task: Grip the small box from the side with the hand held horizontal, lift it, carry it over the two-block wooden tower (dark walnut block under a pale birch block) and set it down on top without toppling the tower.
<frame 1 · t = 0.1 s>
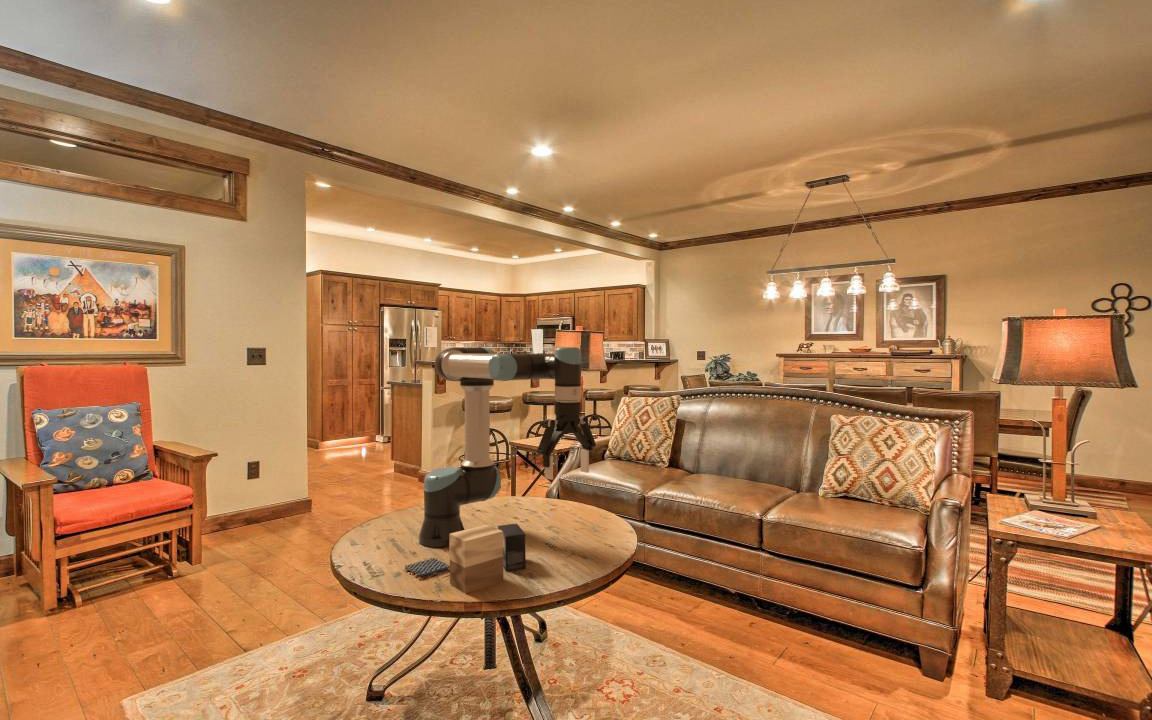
hand: (567, 475, 160), 28 cm above the table, tool pointing down, fingers open, 13 cm apart
tower top: (476, 557, 153), point 7 cm above the table, touching tower base
tower base: (476, 583, 153), on the table, touching tower top
woven mat: (427, 572, 162), on the table
small box: (511, 564, 167), on the table
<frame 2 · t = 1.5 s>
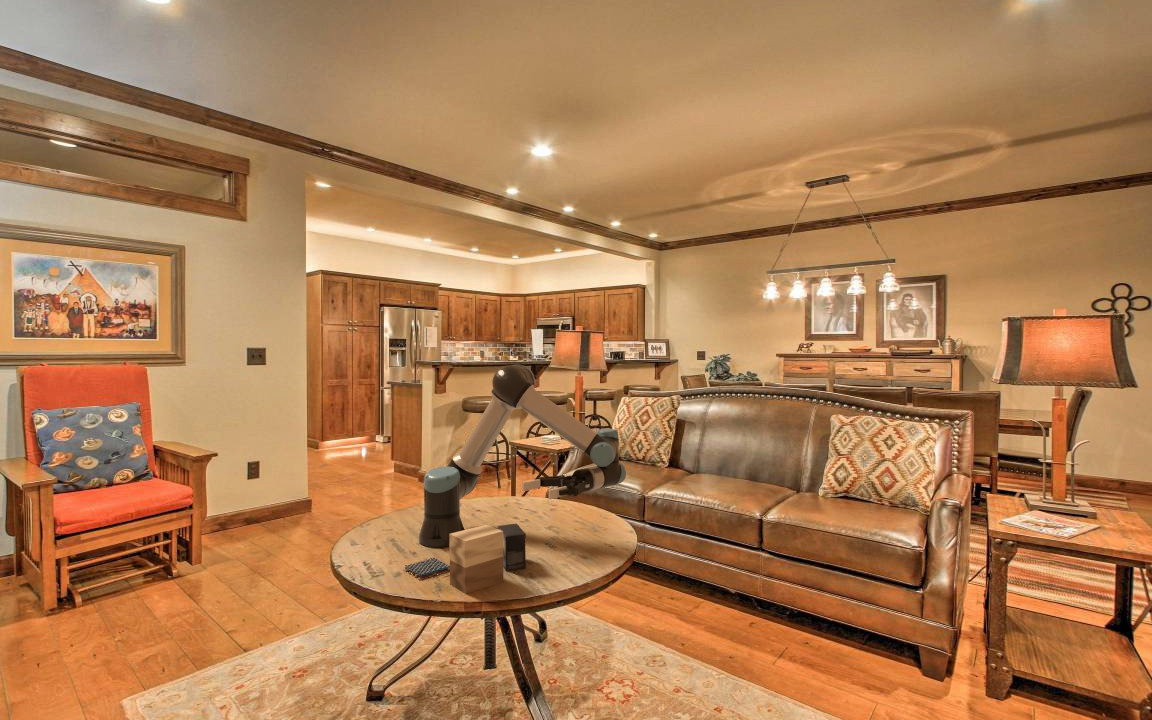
hand: (535, 490, 172), 20 cm above the table, tool horizontal, fingers open, 13 cm apart
nothing on the table moved.
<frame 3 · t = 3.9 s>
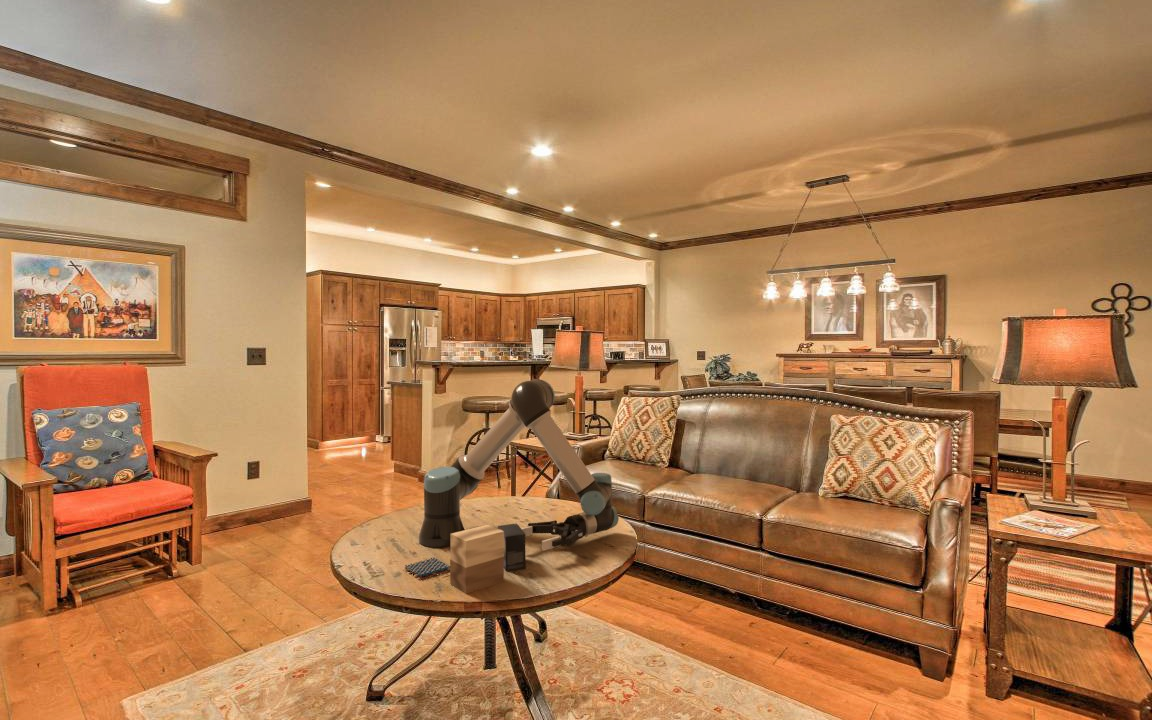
hand: (528, 540, 170), 6 cm above the table, tool horizontal, fingers open, 13 cm apart
nothing on the table moved.
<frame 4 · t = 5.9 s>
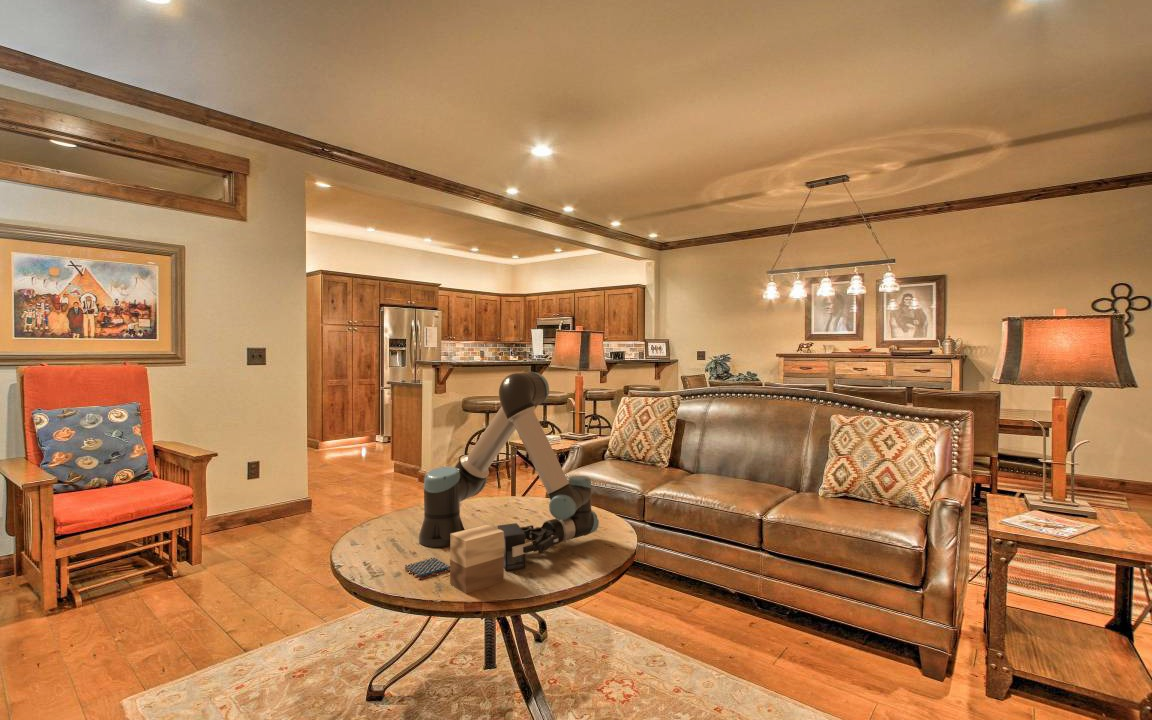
hand: (500, 546, 164), 6 cm above the table, tool horizontal, fingers closed on small box, 11 cm apart
small box: (511, 564, 167), on the table, touching gripper
everything else where it was.
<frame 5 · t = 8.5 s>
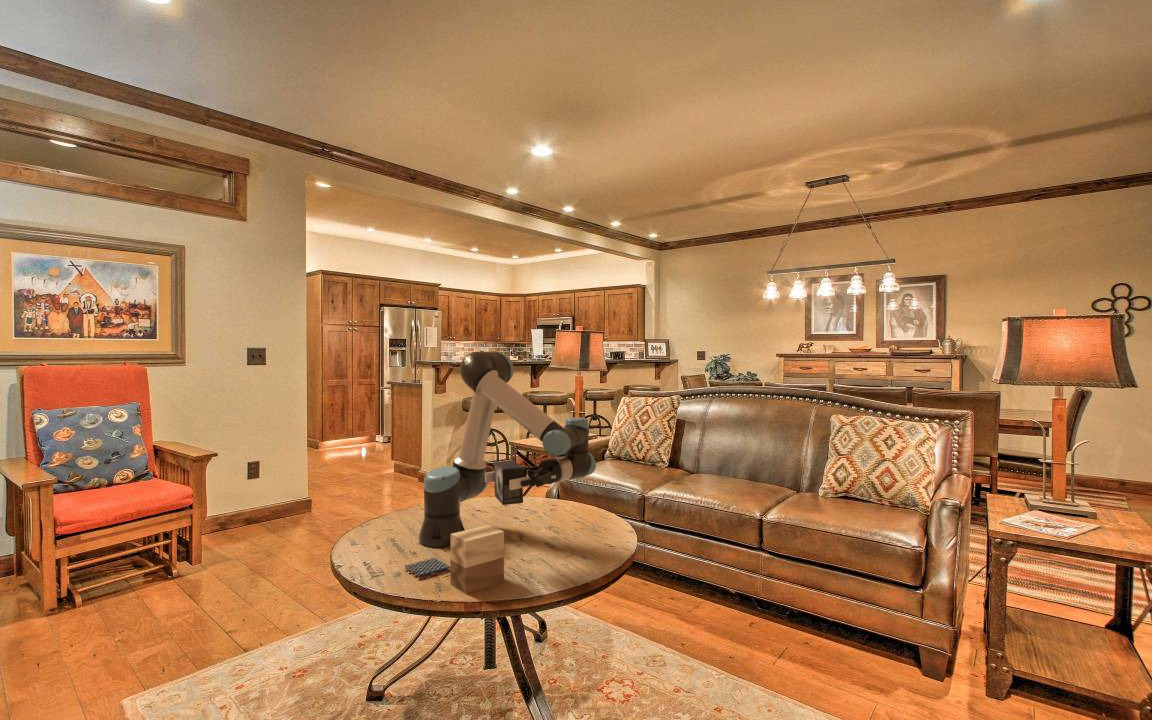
hand: (497, 481, 161), 26 cm above the table, tool horizontal, fingers closed on small box, 11 cm apart
small box: (508, 500, 164), point 20 cm above the table, touching gripper
everything else where it was.
when the fingers open (21 cm above the table, at t = 10.9 s): small box drops 2 cm, resting on tower top.
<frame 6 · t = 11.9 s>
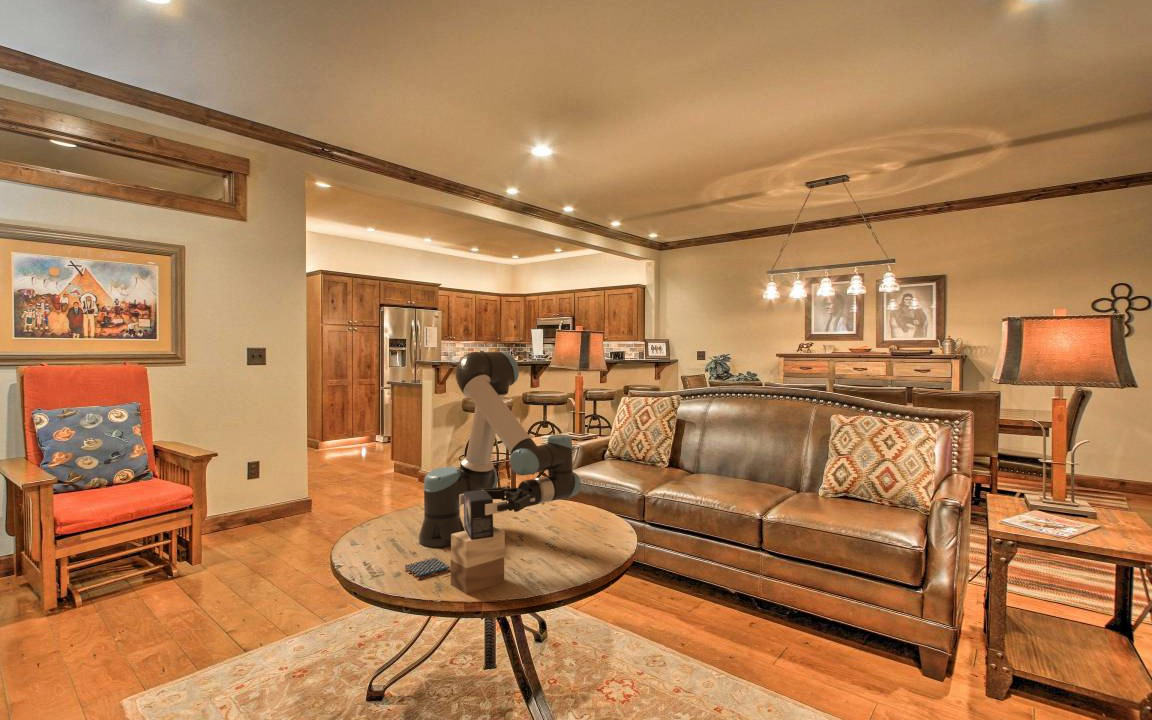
hand: (472, 504, 152), 22 cm above the table, tool horizontal, fingers open, 13 cm apart
tower top: (478, 558, 153), point 7 cm above the table, touching small box, tower base
small box: (478, 533, 153), point 14 cm above the table, touching tower top
everything else where it was.
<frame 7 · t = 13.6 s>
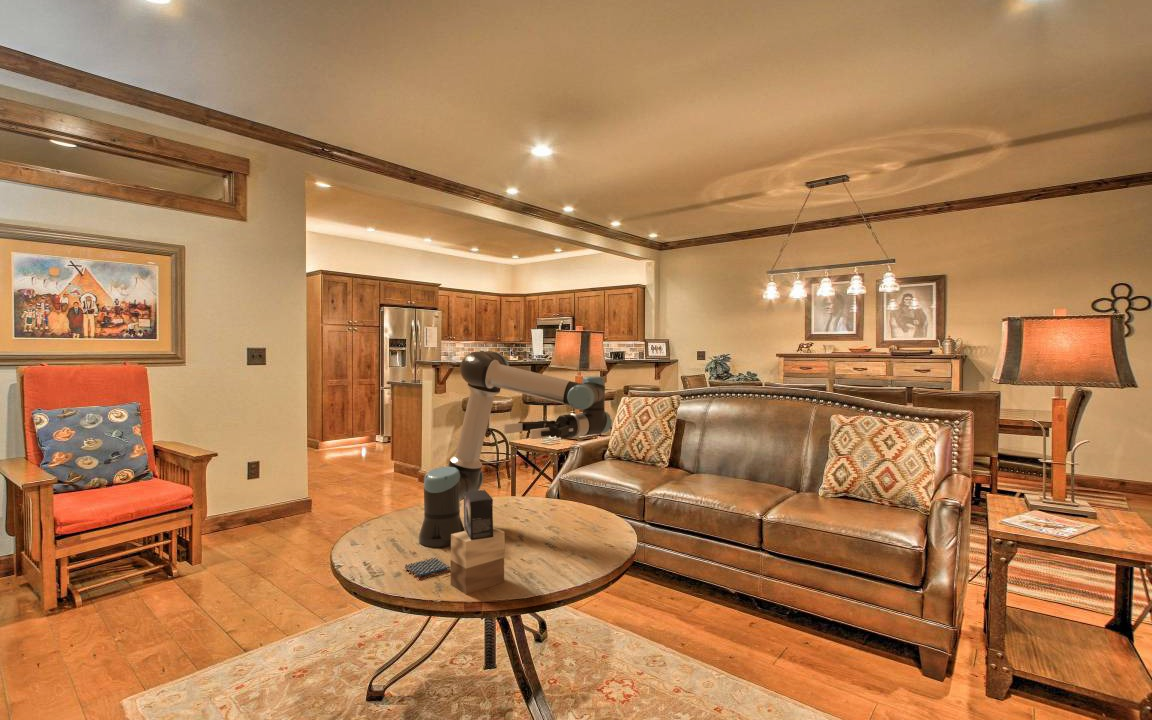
hand: (517, 431, 166), 39 cm above the table, tool horizontal, fingers open, 13 cm apart
nothing on the table moved.
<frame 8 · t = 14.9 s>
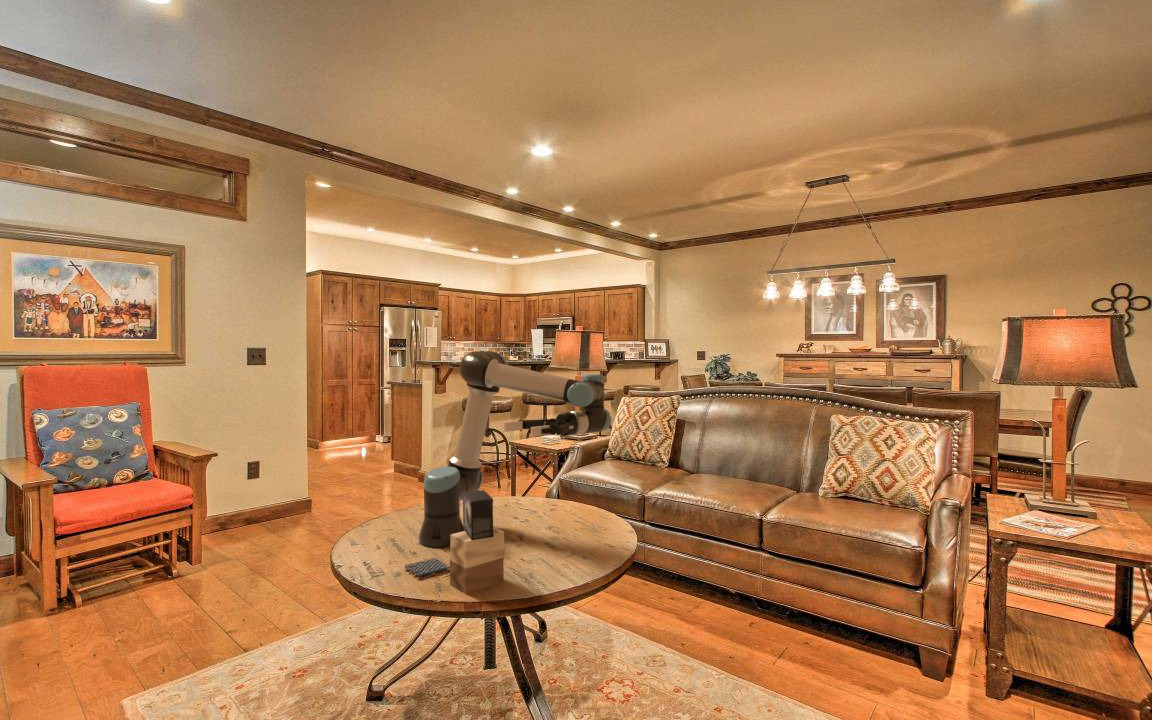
hand: (517, 429, 167), 40 cm above the table, tool horizontal, fingers open, 13 cm apart
nothing on the table moved.
at the end: small box 0.1 cm from the tower top (horizontally); small box point 13.7 cm above the table; tower top tilted 0° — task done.
